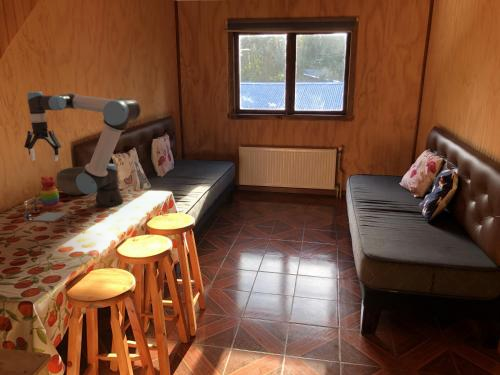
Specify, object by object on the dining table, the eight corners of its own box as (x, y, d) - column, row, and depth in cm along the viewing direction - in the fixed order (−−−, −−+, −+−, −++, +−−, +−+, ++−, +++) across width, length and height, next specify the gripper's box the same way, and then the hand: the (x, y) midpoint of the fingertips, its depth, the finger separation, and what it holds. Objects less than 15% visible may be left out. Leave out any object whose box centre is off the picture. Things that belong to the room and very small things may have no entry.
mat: (67, 214, 224) (67, 213, 224) (53, 222, 213) (53, 221, 213) (47, 213, 227) (46, 212, 226) (32, 220, 215) (32, 219, 215)
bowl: (88, 198, 253) (85, 173, 248) (53, 198, 252) (49, 174, 248) (99, 188, 273) (96, 165, 269) (67, 189, 272) (63, 166, 268)
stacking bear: (65, 204, 241) (61, 174, 236) (56, 210, 231) (51, 178, 226) (47, 204, 242) (43, 174, 237) (37, 209, 232) (32, 178, 228)
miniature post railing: (48, 211, 229) (45, 196, 227) (29, 221, 215) (26, 205, 212) (35, 210, 231) (33, 195, 228) (15, 220, 216) (12, 204, 214)
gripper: (64, 120, 225) (69, 159, 231) (22, 120, 229) (28, 158, 235) (56, 122, 218) (61, 162, 224) (12, 122, 222) (19, 161, 228)
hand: (44, 160), depth 230 cm, fingers open, 13 cm apart
